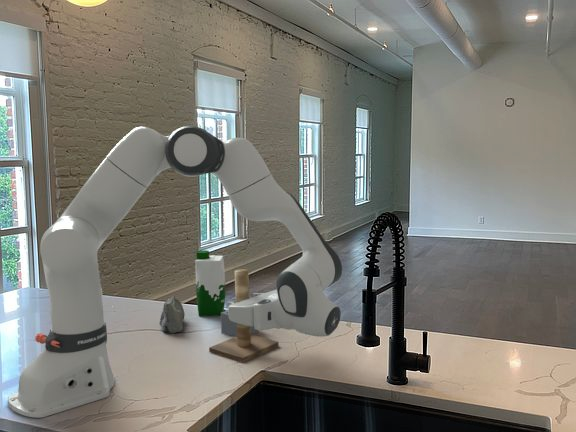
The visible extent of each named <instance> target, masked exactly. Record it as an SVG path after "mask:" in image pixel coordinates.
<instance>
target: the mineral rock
mask: <svg viewBox="0 0 576 432" xmlns="http://www.w3.org/2000/svg"><path fill="white" fill-rule="evenodd" d="M170 296H171V297H169V298H168V299H166V301H165V302H164V304H163V307H162V312H161V315H160V318H159V319H160V320H159V326H160V327H161V330H162V332H163V334H164V333H165V334H166V333H170V334H175V333H178V332H179V333H180V332H182V331H183V330H184V320H185V310H184V307H183V304H182V303H181V302H180V301H179V300H178V299H177V298H176V297H175V295H174V294H171V295H170Z"/></svg>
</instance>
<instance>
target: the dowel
mask: <svg viewBox="0 0 576 432" xmlns="http://www.w3.org/2000/svg"><path fill="white" fill-rule="evenodd" d="M234 290H235V291H234V293H235V303H238V302H241V301H244V300H247V299H249V298H250V281H249V269H247V268H246V269H244V268H243V269H242V268H241V269H240V268H239V269H236V270H234ZM237 345H238V346H239V347H248V346H250V345H251V328H250V326H246V325H242V324H238V323H237Z"/></svg>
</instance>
